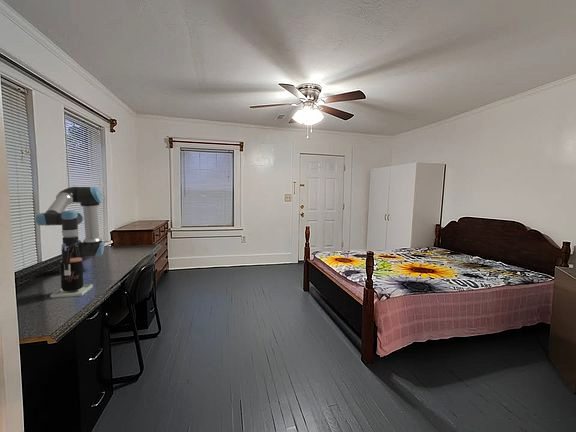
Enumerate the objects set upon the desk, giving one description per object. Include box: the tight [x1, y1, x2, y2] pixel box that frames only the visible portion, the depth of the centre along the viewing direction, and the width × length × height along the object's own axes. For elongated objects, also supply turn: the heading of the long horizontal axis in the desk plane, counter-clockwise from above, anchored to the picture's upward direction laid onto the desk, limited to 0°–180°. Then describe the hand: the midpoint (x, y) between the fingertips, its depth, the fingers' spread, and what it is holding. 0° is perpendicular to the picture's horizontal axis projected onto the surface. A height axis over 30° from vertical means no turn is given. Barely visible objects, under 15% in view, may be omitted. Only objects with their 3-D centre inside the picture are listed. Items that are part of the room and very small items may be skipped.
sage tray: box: [50, 284, 94, 299], centre depth 170 cm, size 16×16×2 cm
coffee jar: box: [59, 257, 84, 291], centre depth 169 cm, size 11×11×18 cm
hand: (72, 272), depth 169 cm, fingers closed on coffee jar, 11 cm apart
